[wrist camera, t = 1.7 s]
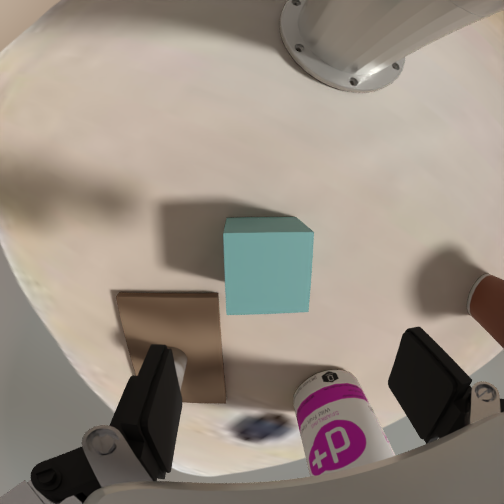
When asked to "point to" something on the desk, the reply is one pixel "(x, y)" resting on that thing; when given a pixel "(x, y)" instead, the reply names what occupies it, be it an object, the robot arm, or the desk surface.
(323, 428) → the supplement can
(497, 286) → the coffee cup
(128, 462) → the robot arm
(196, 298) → the post board
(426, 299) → the desk surface
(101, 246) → the desk surface
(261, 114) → the desk surface
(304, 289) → the teal cube
